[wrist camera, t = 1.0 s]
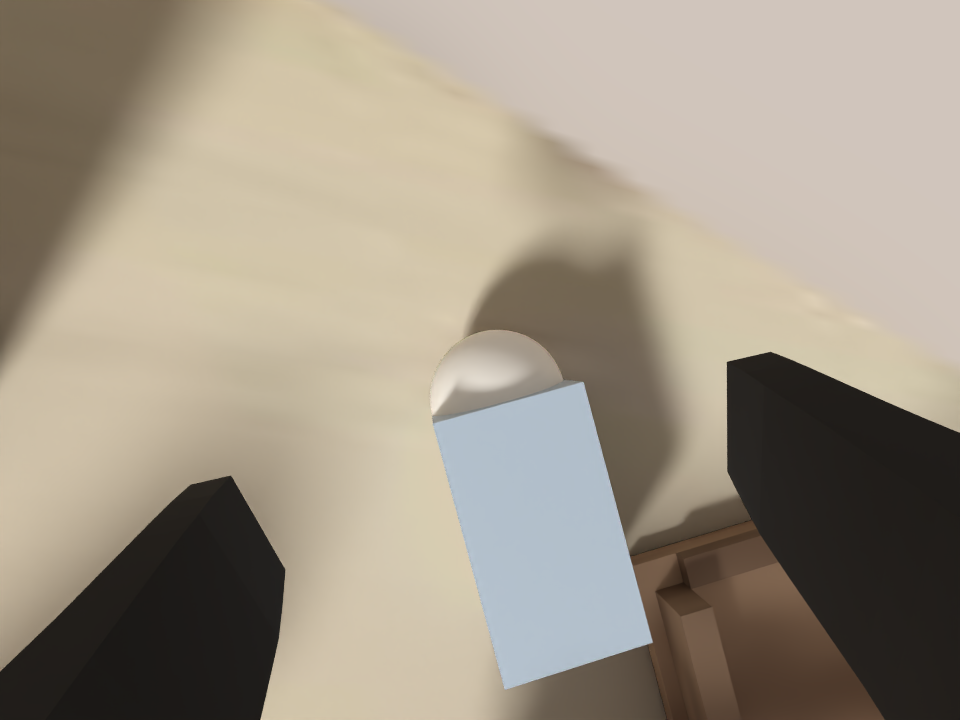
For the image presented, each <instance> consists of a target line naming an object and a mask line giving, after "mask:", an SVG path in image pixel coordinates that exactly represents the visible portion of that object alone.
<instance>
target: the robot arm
mask: <svg viewBox="0 0 960 720" xmlns="http://www.w3.org/2000/svg"><path fill="white" fill-rule="evenodd" d="M727 470H728V474H729V476H730V478H731V480H732V482H733V484H734V486H735V488H736V490H737V492H738V494H739V496H740V498H741V500H742V502H743V504H744V506H745V508H746V509H747V511H748V513H749V515H750V517H751V519H752V521H753V523H754V524H755V526H756V528H757V530H758V532H759V534H760V535H761V537H762V538H763V540H764V541H765V543H766V544H767V546H768V547H769V549H770V550H771V552H772V553H773V555H774V556H775V558H776V559H777V561H778V562H779V564H780V565H781V567H782V568H783V570H784V571H785V572H786V574H787V575H788V577H789V578H790V580H791V581H792V583H793V584H794V586H795V587H796V589H797V590H798V592H799V593H800V594H801V596H802V597H803V599H804V600H805V602H806V603H807V605H808V606H809V608H810V609H811V610H812V612H813V613H814V615H815V616H816V618H817V619H818V621H819V622H820V623H821V625H822V626H823V628H824V629H825V631H826V632H827V634H828V635H829V637H830V638H831V639H832V641H833V642H834V644H835V645H836V647H837V648H838V650H839V651H840V653H841V654H842V655H843V657H844V658H845V660H846V661H847V663H848V664H849V666H850V667H851V669H852V670H853V671H854V673H855V674H856V676H857V677H858V679H859V680H860V682H861V683H862V685H863V686H864V688H865V689H866V691H867V692H868V694H869V696H870V697H871V699H872V700H873V702H874V704H875V705H876V707H877V708H878V710H879V711H880V713H881V715H882V716H883V718H884V719H885V720H960V433H959V432H956V431H954V430H951V429H949V428H946V427H944V426H942V425H939V424H937V423H934V422H932V421H930V420H927V419H925V418H922V417H920V416H918V415H915V414H913V413H911V412H908V411H906V410H904V409H901V408H899V407H897V406H895V405H892V404H890V403H888V402H885V401H883V400H881V399H879V398H876V397H874V396H872V395H870V394H867V393H865V392H863V391H861V390H858V389H856V388H854V387H852V386H849V385H847V384H845V383H843V382H840V381H838V380H836V379H834V378H831V377H829V376H827V375H825V374H822V373H820V372H818V371H816V370H813V369H811V368H809V367H807V366H804V365H802V364H800V363H797V362H795V361H793V360H790V359H788V358H785V357H783V356H780V355H777V354H775V353H772V352H768V353H764V354H759V355H755V356H750V357H746V358H742V359H737V360H733V361H729V362H727ZM284 580H285V568H284V567H283V565H282V563H281V562H280V560H279V558H278V556H277V555H276V553H275V551H274V549H273V548H272V546H271V544H270V542H269V541H268V539H267V537H266V536H265V534H264V532H263V530H262V529H261V527H260V525H259V523H258V522H257V520H256V518H255V516H254V515H253V513H252V511H251V510H250V508H249V506H248V504H247V503H246V501H245V499H244V497H243V496H242V494H241V492H240V490H239V489H238V487H237V485H236V484H235V482H234V480H233V478H232V477H231V476H227V477H223V478H218V479H214V480H210V481H205V482H201V483H197V484H192V485H190V486H189V487H188V488H187V489H185V490H184V491H183V492H182V493H181V494H180V495H178V496H177V497H176V498H175V499H174V500H173V501H172V502H171V503H170V504H169V505H168V506H167V507H166V508H165V509H164V510H163V511H162V512H161V513H160V514H159V515H158V516H157V517H155V518H154V519H153V520H152V521H151V522H150V523H149V524H148V525H147V526H146V527H145V529H144V530H143V531H142V532H141V533H140V534H139V535H138V536H137V537H136V538H135V539H134V540H133V541H132V542H131V543H130V544H129V545H128V546H127V547H126V548H125V549H124V550H123V551H122V552H121V553H120V554H119V555H118V556H117V557H116V558H115V559H114V560H113V561H112V562H111V563H110V564H109V565H108V566H107V567H106V568H105V569H104V570H103V571H102V572H101V573H100V574H99V575H98V576H97V577H96V578H95V579H94V580H93V581H92V582H91V583H90V584H89V585H88V586H87V587H86V588H85V589H84V590H83V591H82V592H81V594H80V595H79V596H78V597H77V598H76V599H75V600H74V601H73V602H72V603H71V604H70V605H69V606H68V607H67V608H66V609H65V610H64V611H63V612H62V613H61V614H60V615H59V616H58V617H57V618H56V619H55V620H54V621H53V622H51V623H50V624H49V625H48V626H47V627H46V628H45V629H44V630H43V631H42V632H41V633H40V634H39V635H38V636H37V637H36V638H35V639H34V640H33V641H32V642H31V643H30V644H29V645H27V646H26V647H25V648H24V649H23V650H22V651H21V652H20V653H19V654H18V655H17V656H16V657H15V658H14V659H13V660H12V661H11V662H10V663H9V664H8V665H7V666H6V667H5V668H4V669H2V670H1V671H0V720H260V719H261V714H262V710H263V706H264V702H265V698H266V693H267V689H268V684H269V680H270V675H271V671H272V667H273V662H274V658H275V653H276V648H277V644H278V639H279V631H280V623H281V614H282V605H283V592H284Z"/></svg>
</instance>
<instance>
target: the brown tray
mask: <svg viewBox="0 0 960 720" xmlns="http://www.w3.org/2000/svg"><path fill="white" fill-rule="evenodd" d="M630 559H631V562H632V566H633V570H634V574H635V577H636V581H637V585H638V589H639V592H640V596H641V600H642V604H643V607H644V611H645V615H646V619H647V623H648V626H649V630H650V634H651V638H652V641H653V643H650V644H648V648H649V651H650V655H651V659H652V663H653V667H654V671H655V674H656V678H657V682H658V686H659V690H660V694H661V697H662V701H663V705H664V709H665V713H666V717H667V720H885V719H884V718H883V716H882V715H881V713H880V711H879V710H878V708H877V707H876V705H875V704H874V702H873V700H872V699H871V697H870V696H869V694H868V692H867V691H866V689H865V688H864V686H863V685H862V683H861V682H860V680H859V679H858V677H857V676H856V674H855V673H854V671H853V670H852V669H851V667H850V666H849V664H848V663H847V661H846V660H845V658H844V657H843V655H842V654H841V653H840V651H839V650H838V648H837V647H836V645H835V644H834V642H833V641H832V639H831V638H830V637H829V635H828V634H827V632H826V631H825V629H824V628H823V626H822V625H821V623H820V622H819V621H818V619H817V618H816V616H815V615H814V613H813V612H812V610H811V609H810V608H809V606H808V605H807V603H806V602H805V600H804V599H803V597H802V596H801V594H800V593H799V592H798V590H797V589H796V587H795V586H794V584H793V583H792V581H791V580H790V578H789V577H788V575H787V574H786V572H785V571H784V570H783V568H782V567H781V565H780V564H779V562H778V561H777V559H776V558H775V556H774V555H773V553H772V552H771V550H770V549H769V547H768V546H767V544H766V543H765V541H764V540H763V538H762V537H761V535H760V534H759V532H758V530H757V528H756V526H755V524H754V523H753V521H752V520H750V521H747V522H744V523H740V524H737V525H734V526H731V527H727V528H724V529H721V530H717V531H714V532H711V533H707V534H704V535H701V536H697V537H694V538H691V539H687V540H684V541H681V542H677V543H674V544H671V545H668V546H664V547H661V548H658V549H654V550H651V551H648V552H644V553H641V554H638V555H634V556H631V557H630Z"/></svg>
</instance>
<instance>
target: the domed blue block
mask: <svg viewBox="0 0 960 720" xmlns="http://www.w3.org/2000/svg"><path fill="white" fill-rule="evenodd" d="M430 406H431V411H432V419H433V426H434V430H435V434H436V437H437V441H438V445H439V448H440V452H441V456H442V459H443V463H444V467H445V471H446V474H447V478H448V482H449V485H450V489H451V493H452V496H453V500H454V504H455V507H456V511H457V515H458V519H459V522H460V526H461V530H462V533H463V537H464V541H465V544H466V548H467V552H468V555H469V559H470V563H471V567H472V570H473V574H474V578H475V581H476V585H477V589H478V592H479V596H480V600H481V604H482V607H483V611H484V615H485V618H486V622H487V626H488V629H489V633H490V637H491V640H492V644H493V648H494V652H495V655H496V659H497V663H498V666H499V670H500V674H501V677H502V681H503V685H504V689H505V690H506V689H509V688H512V687H515V686H519V685H522V684H525V683H528V682H531V681H534V680H537V679H540V678H544V677H547V676H550V675H553V674H556V673H559V672H562V671H565V670H569V669H572V668H575V667H578V666H581V665H584V664H587V663H590V662H594V661H597V660H600V659H603V658H606V657H609V656H612V655H615V654H619V653H622V652H625V651H628V650H631V649H634V648H637V647H640V646H644V645H647V644H650V643H653V641H652V638H651V634H650V630H649V626H648V623H647V619H646V615H645V611H644V607H643V604H642V600H641V596H640V592H639V589H638V585H637V581H636V577H635V574H634V570H633V566H632V562H631V559H630V555H629V551H628V547H627V544H626V540H625V536H624V532H623V529H622V525H621V521H620V517H619V514H618V510H617V506H616V502H615V499H614V495H613V491H612V487H611V484H610V480H609V476H608V472H607V469H606V465H605V461H604V457H603V453H602V450H601V446H600V442H599V438H598V435H597V431H596V427H595V423H594V420H593V416H592V412H591V408H590V405H589V401H588V397H587V393H586V390H585V386H584V382H581V381H572V380H563V377H562V374H561V372H560V370H559V367H558V365H557V363H556V362H555V360H554V359H553V357H552V356H551V355H550V354H549V352H548V351H547V350H546V349H545V348H544V347H543V346H541V345H540V344H539V343H538V342H536V341H535V340H533V339H531V338H529V337H527V336H525V335H523V334H520V333H517V332H513V331H508V330H487V331H482V332H478V333H475V334H472V335H470V336H468V337H466V338H464V339H462V340H461V341H459V342H458V343H456V344H455V345H454V346H453V347H452V348H451V349H450V350H449V351H448V352H447V353H446V354H445V355H444V357H443V358H442V360H441V361H440V363H439V364H438V366H437V369H436V371H435V373H434V376H433V379H432V383H431V388H430Z"/></svg>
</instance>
